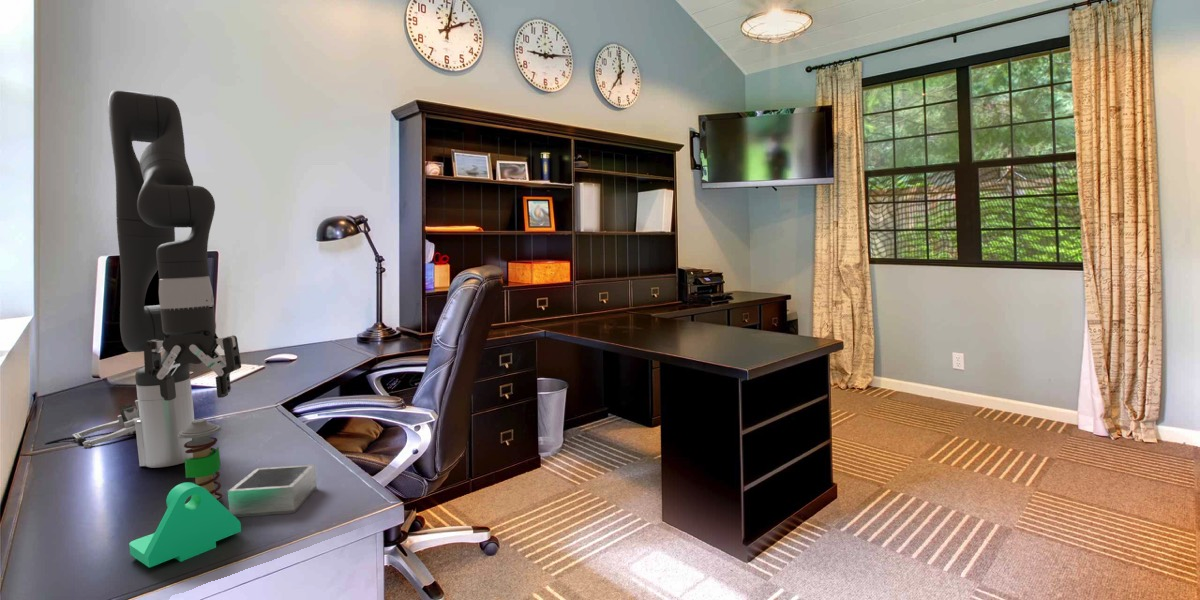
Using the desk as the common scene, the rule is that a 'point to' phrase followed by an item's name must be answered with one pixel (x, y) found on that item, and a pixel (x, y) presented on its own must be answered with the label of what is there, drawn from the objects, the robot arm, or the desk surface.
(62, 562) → the desk surface
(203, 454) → the shock absorber
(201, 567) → the desk surface
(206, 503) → the camera mount
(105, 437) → the bike brake
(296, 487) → the square tray
